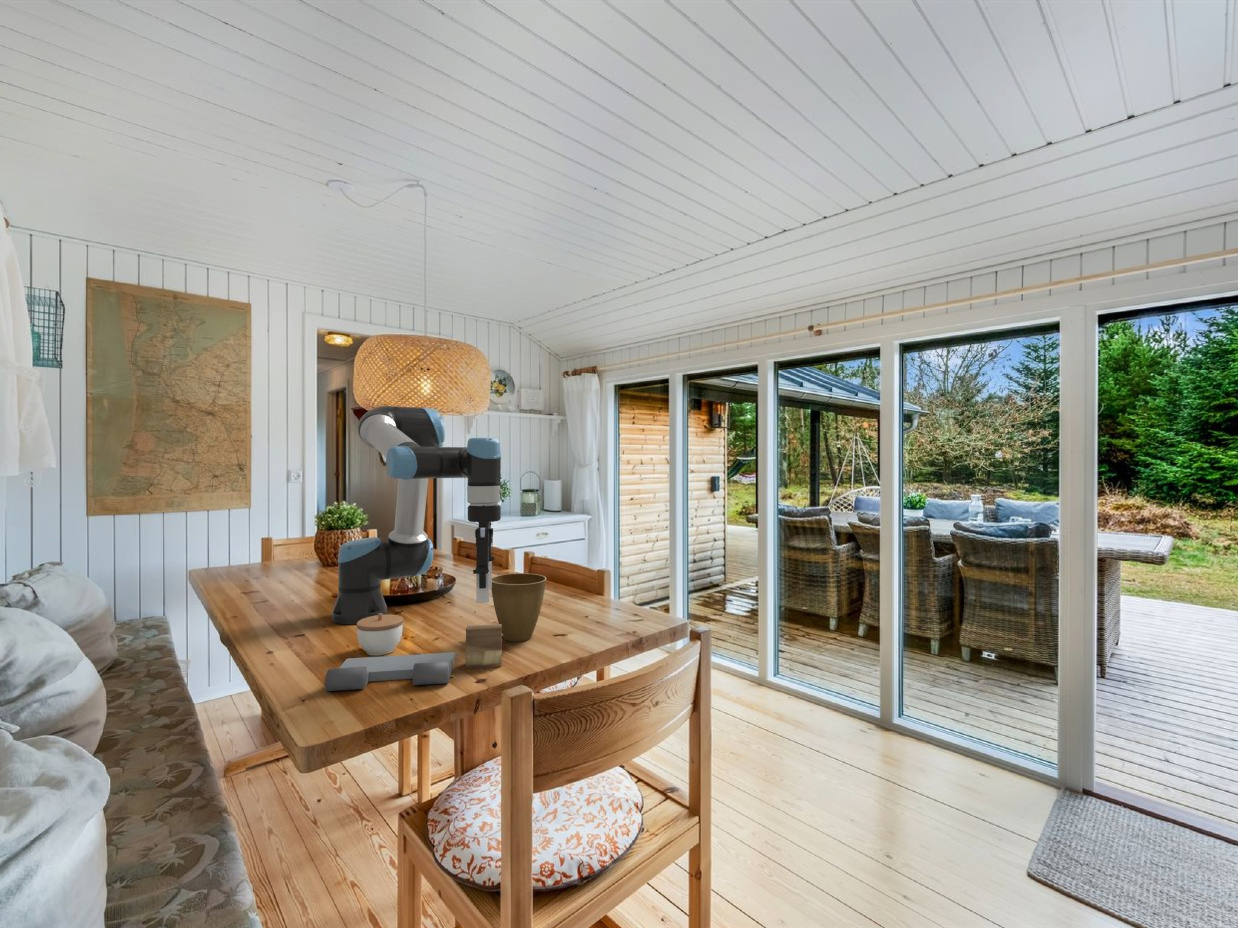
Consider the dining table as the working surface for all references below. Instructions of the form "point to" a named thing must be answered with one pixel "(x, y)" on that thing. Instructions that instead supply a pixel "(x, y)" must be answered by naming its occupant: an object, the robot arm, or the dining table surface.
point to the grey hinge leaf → (391, 670)
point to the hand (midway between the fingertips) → (484, 595)
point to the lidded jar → (379, 633)
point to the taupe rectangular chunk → (484, 646)
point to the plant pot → (518, 603)
